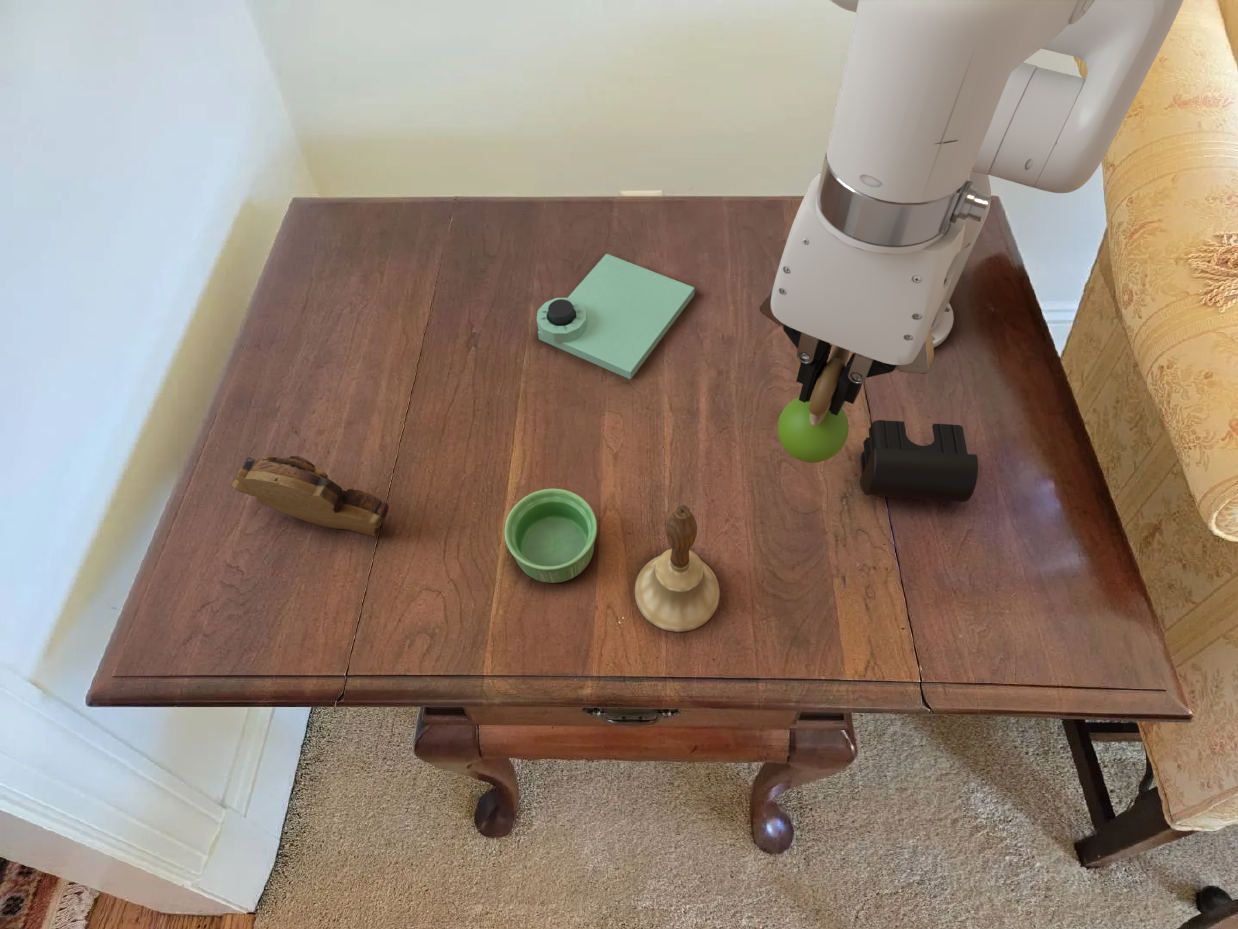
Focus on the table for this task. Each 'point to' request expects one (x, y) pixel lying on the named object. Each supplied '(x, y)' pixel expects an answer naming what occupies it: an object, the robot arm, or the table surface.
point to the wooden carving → (309, 494)
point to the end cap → (917, 464)
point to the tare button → (561, 312)
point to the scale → (617, 315)
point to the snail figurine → (816, 417)
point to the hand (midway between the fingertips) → (825, 393)
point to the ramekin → (551, 534)
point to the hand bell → (678, 581)
